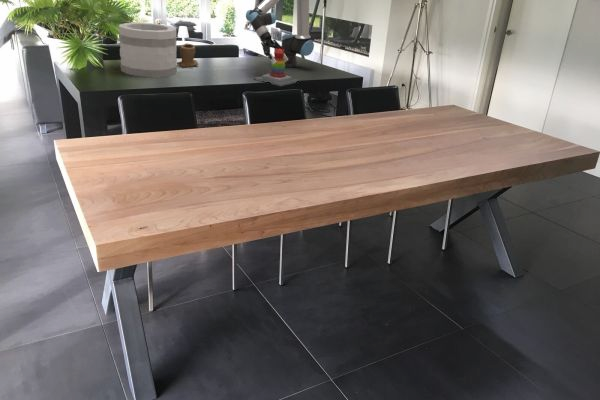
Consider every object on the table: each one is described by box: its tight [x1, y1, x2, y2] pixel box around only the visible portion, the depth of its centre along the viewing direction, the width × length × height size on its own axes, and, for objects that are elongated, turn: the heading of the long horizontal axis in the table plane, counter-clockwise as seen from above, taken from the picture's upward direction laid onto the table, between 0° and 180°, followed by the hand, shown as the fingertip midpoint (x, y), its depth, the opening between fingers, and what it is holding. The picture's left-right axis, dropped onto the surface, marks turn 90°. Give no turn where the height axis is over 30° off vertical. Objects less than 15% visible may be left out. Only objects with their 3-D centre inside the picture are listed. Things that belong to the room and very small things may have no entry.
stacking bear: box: [269, 48, 287, 77], centre depth 331 cm, size 11×10×18 cm
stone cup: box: [177, 43, 199, 68], centre depth 346 cm, size 15×12×15 cm
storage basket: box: [118, 22, 178, 78], centre depth 319 cm, size 35×35×27 cm
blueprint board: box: [253, 73, 300, 87], centre depth 336 cm, size 22×22×3 cm
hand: (280, 62), depth 330 cm, fingers open, 13 cm apart
